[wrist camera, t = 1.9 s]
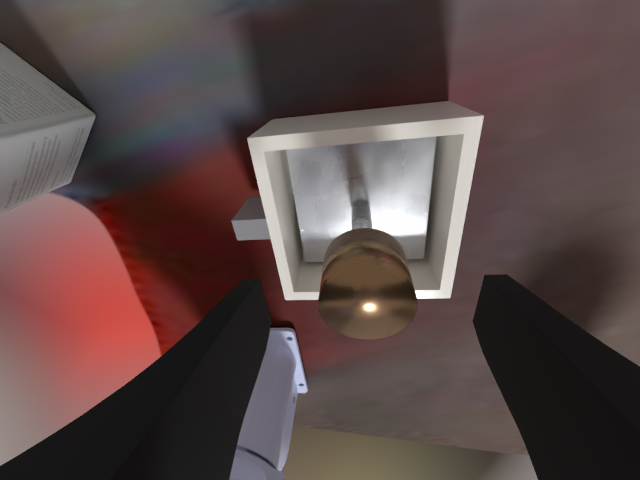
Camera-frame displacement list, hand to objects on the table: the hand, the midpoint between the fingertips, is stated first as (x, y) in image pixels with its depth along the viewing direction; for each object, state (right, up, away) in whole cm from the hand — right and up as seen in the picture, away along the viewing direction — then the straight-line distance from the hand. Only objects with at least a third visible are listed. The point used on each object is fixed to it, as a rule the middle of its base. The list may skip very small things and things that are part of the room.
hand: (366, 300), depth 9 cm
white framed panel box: (+1, +5, +8) cm, 9 cm away
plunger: (+1, +4, +6) cm, 8 cm away
